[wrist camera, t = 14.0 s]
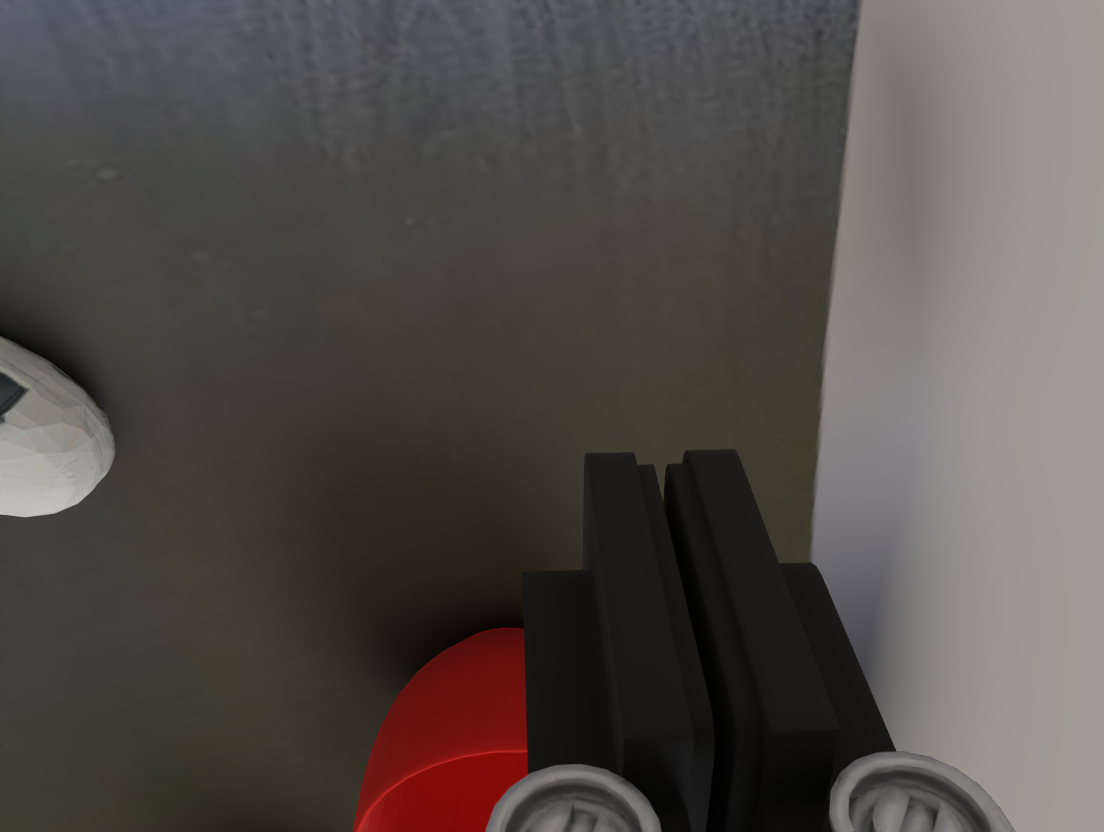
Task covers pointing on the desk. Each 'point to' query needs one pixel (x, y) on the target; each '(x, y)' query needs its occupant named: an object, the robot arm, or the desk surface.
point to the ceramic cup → (450, 740)
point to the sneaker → (47, 436)
